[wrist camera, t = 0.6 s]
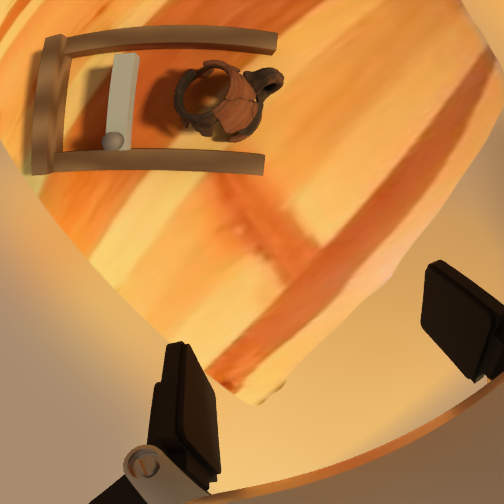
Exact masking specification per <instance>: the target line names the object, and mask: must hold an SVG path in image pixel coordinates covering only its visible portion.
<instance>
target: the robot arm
mask: <svg viewBox="0 0 504 504" xmlns="http://www.w3.org/2000/svg"><path fill="white" fill-rule="evenodd" d="M421 326H422V328H423V330H424V331H425V332H426V333H427V334H428V335H429V336H430V337H431V338H432V339H433V340H434V342H435V343H436V344H437V345H438V346H439V347H440V348H441V349H442V350H443V351H444V353H445V354H446V355H447V356H448V357H449V358H450V359H451V360H452V361H453V363H454V364H455V365H456V366H457V367H458V369H459V370H460V371H461V372H462V373H463V374H464V376H465V377H466V378H468V379H471V380H472V381H473V382H474V383H476V382H477V381H479V380H480V379H482V378H483V377H484V375H486V376H487V385H485V386H484V387H483V388H481V389H480V390H478V391H477V392H476V393H475V394H473V395H471V396H470V397H468V398H467V399H466V400H464V401H463V402H461V403H459V404H458V405H456V406H455V407H453V408H452V409H450V410H449V411H447V412H445V413H444V414H442V415H440V416H439V417H437V418H435V419H434V420H432V421H430V422H428V423H426V424H425V425H423V426H421V427H419V428H417V429H415V430H413V431H411V432H410V433H408V434H406V435H404V436H402V437H400V438H398V439H395V440H393V441H391V442H389V443H387V444H385V445H382V446H380V447H378V448H376V449H373V450H371V451H369V452H366V453H364V454H361V455H359V456H356V457H354V458H351V459H348V460H346V461H343V462H340V463H337V464H335V465H332V466H329V467H326V468H322V469H319V470H316V471H313V472H309V473H306V474H302V475H299V476H295V477H291V478H288V479H284V480H280V481H276V482H271V483H267V484H262V485H258V486H253V487H248V488H242V489H238V490H233V491H227V492H222V493H217V494H213V495H211V494H210V493H209V492H208V491H207V490H208V489H209V483H210V482H217V474H220V473H221V463H220V451H219V440H218V439H219V438H218V425H217V411H216V397H215V393H214V390H213V389H212V387H211V385H210V383H209V381H208V379H207V377H206V376H205V373H204V372H203V370H202V368H201V366H200V364H199V362H198V360H197V358H196V356H195V354H194V352H193V350H192V348H191V346H190V345H189V344H184V342H183V341H180V342H176V343H171V344H168V345H167V347H166V352H165V359H164V366H163V373H162V380H161V382H157V383H156V384H155V387H154V392H153V400H152V407H151V414H150V422H149V430H148V439H147V445H141V446H138V447H136V448H134V449H132V450H131V451H130V452H129V453H128V454H127V456H126V458H125V459H124V463H123V468H124V473H125V475H123V476H122V477H121V478H120V479H119V480H117V481H116V482H115V483H114V484H113V485H111V486H110V487H109V488H108V489H106V490H105V491H104V492H103V493H101V494H100V495H99V496H97V497H96V498H95V499H93V500H92V501H91V502H90V503H89V504H504V305H503V304H501V303H500V302H499V301H498V300H497V299H495V298H494V297H493V296H491V295H490V294H489V293H487V292H486V291H485V290H483V289H482V288H481V287H479V286H478V285H477V284H475V283H474V282H473V281H471V280H470V279H469V278H467V277H466V276H464V275H463V274H461V273H460V272H459V271H457V270H456V269H454V268H453V267H451V266H450V265H448V264H447V263H446V262H444V261H442V260H438V261H435V262H433V263H431V264H429V265H428V267H427V269H426V271H425V282H424V294H423V304H422V313H421Z"/></svg>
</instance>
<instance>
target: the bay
mask: <svg viewBox="0 0 504 504" xmlns="http://www.w3.org/2000/svg"><path fill="white" fill-rule="evenodd" d="M277 37H278V33H275V32H268V31H261V30H254V29H245V28H236V27H223V26H205V25H161V26H143V27H131V28H122V29H114V30H106V31H100V32H94V33H88V34H83V35H78V36H73V37H68V38H67V37H65V36H64V35H62V34H58V35H54V36H51V37H47V38H45V43H44V47H43V52H42V57H41V62H40V67H39V73H38V79H37V86H36V94H35V103H34V114H33V128H32V176H33V175H47V174H50V173H53V172H68V171H92V170H176V171H202V172H221V173H236V174H249V175H261V176H263V171H264V162H265V155H263V154H256V153H245V152H232V151H217V150H198V149H164V148H131V149H130V150H115V151H105V149H98V150H80V151H66V152H63V131H64V116H65V104H66V95H67V87H68V80H69V73H70V67H71V61H72V58H75V57H81V56H87V55H93V54H100V53H108V52H117V51H128V50H141V49H164V48H192V49H216V50H230V51H241V52H250V53H258V54H265V55H273V53H274V52H275V51H276V47H277Z"/></svg>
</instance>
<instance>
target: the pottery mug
mask: <svg viewBox="0 0 504 504" xmlns="http://www.w3.org/2000/svg"><path fill="white" fill-rule="evenodd" d="M203 66H204V67H203V68H201V69H199V70H198V71H196V72H195V70H194V69H189V70H188V71H187V72H186V73H185V74H184V75H183V76H182V78H181V79H180V80H179V82H178V84H177V86H176V89H175V94H174V106H175V109H176V111H177V113H178V114H179V115H180V118H181V121H182V123H183V125H184V126H185V128H188V125H189V123H190V122H191V124H192V127H193V128H194V129H195V130H196V131H198V132H200V133H201V135H202V136H206V137H212V136H213V132H212V129H213V127H214V124H215V123H216V121H217V120H219V122H220V124H221V126H222V127H223V129H224V132H225V133H229V134H232V133H235V132H236V131H237V132H238V133H240V134H238V135H236V136H233V137H230V138H228V141H229V142H234V143H236V142H239V141H242V140H244V139H246V138H247V137H249V136H250V135H251V134H252V133H253V132H254V131H255V130H256V129H257V127H258V125H259V123H260V121H261V117H262V109H263V102H264V101H265V99H266V98H267V97H268V96H269V95H271V94H273V93H274V92H276V91H278V90H279V89H280V88H281V87H282V86H283V80H284V76H283V75H282V73H280V72H279V71H278V70H276V69H275V68H262V69H259V70H257V71H254V72H250V71H245V72H243V75H241V74H239V72H240V69H238V68H236V67H234V66H231V65H229V64H227V63H225V62H223V61H219V60H209V61H205V62H203ZM213 68H218V69H222V70H224V71H225V72H226V73H227V74H228V76H229V81H230V84H229V89H228V92H227V94H226V96H225V98H224V100H223V101H222V102H221V103H220V104H219V105H218V106H217V107H215V108H214V109H213V110H212V111H210V112H207V113H204V114H198V115H197V114H191V113H188V112H187V111H186V109H185V108H184V105H183V97H184V93H185V91H186V89H187V87H188V86H189V84H190V83H191V82H192V81H193V80H195V79H196V78H197V77H202V78H205V77H207V76H209V75H210V74H211V73H212V72H213V71H214V69H213ZM255 98H256V102H255V101H254V99H255Z"/></svg>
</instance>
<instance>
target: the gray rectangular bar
mask: <svg viewBox="0 0 504 504" xmlns="http://www.w3.org/2000/svg"><path fill="white" fill-rule="evenodd" d="M139 61H140V57H139V56H138V55H137V54H136V53H126V54H115V56H114V62H113V68H112V75H111V83H110V91H109V100H108V110H107V122H106V134H105V135H104V137H103V139H102V146H103V148H104V149H105V151H115V150H130V149H131V135H132V121H133V110H134V100H135V91H136V82H137V75H138V68H139Z"/></svg>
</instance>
